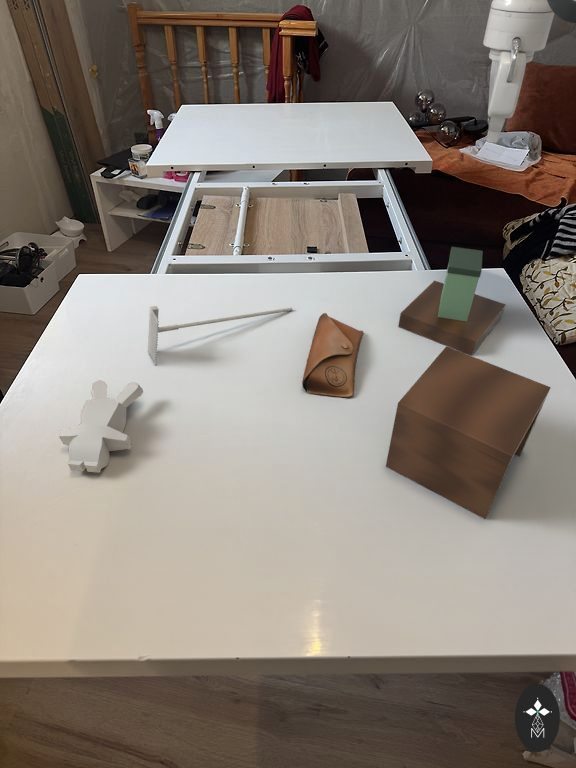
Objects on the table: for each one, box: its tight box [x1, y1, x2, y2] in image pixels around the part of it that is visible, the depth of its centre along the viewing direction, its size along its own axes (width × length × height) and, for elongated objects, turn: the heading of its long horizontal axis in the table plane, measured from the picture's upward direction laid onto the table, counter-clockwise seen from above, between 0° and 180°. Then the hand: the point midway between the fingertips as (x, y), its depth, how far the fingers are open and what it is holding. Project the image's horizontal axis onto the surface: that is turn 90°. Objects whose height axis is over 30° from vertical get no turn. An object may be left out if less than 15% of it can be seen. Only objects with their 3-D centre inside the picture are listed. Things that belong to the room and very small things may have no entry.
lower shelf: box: [397, 280, 506, 357], centre depth 96 cm, size 14×14×3 cm
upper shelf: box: [385, 345, 552, 520], centre depth 69 cm, size 14×14×12 cm
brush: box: [147, 305, 293, 366], centre depth 93 cm, size 4×27×9 cm, turn 119°
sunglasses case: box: [301, 312, 364, 398], centre depth 88 cm, size 18×7×7 cm, turn 170°
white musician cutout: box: [58, 380, 144, 473], centre depth 75 cm, size 10×5×15 cm
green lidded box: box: [438, 246, 484, 322], centre depth 92 cm, size 7×5×10 cm
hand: (492, 132), depth 87 cm, fingers open, 8 cm apart
